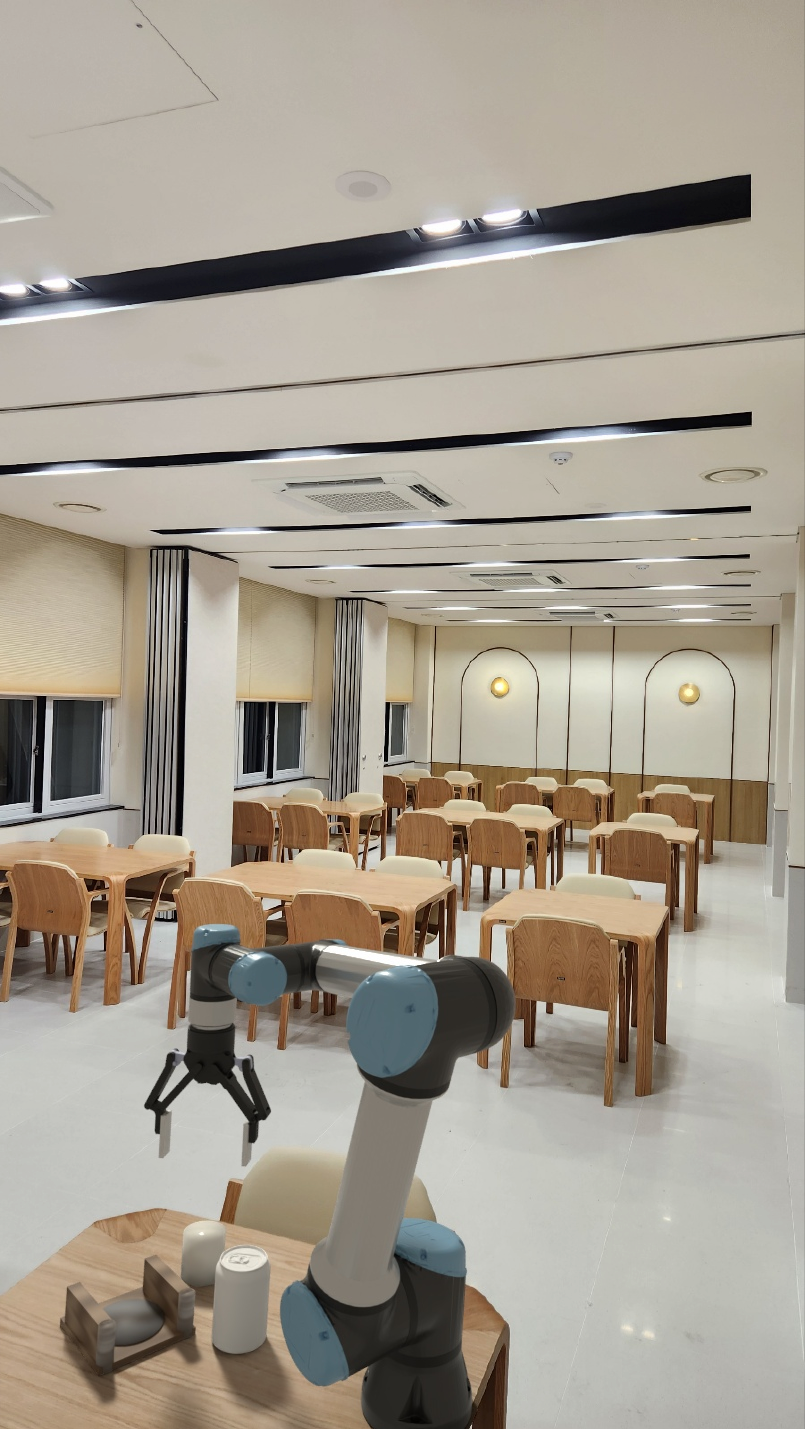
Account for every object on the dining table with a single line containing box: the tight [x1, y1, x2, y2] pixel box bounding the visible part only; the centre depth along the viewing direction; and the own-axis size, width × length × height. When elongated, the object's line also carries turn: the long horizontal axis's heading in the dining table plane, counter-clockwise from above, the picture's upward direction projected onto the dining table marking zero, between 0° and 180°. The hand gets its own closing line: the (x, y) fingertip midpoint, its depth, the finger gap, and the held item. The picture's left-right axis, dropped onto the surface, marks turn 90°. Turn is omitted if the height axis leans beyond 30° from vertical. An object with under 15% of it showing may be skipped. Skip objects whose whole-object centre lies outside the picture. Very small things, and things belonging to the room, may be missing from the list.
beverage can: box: [211, 1244, 272, 1355], centre depth 135 cm, size 8×8×12 cm
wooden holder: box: [59, 1254, 197, 1377], centre depth 135 cm, size 14×15×6 cm
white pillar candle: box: [180, 1220, 227, 1287], centre depth 151 cm, size 7×7×7 cm
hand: (204, 1158), depth 144 cm, fingers open, 13 cm apart
